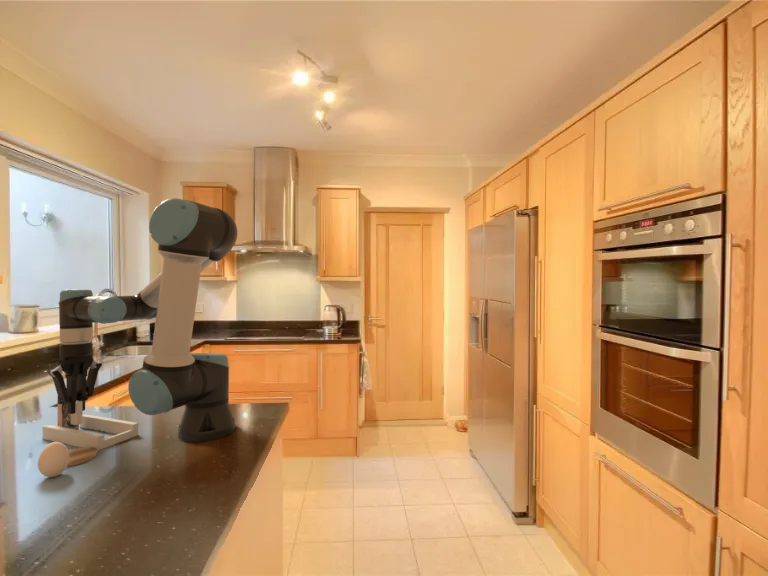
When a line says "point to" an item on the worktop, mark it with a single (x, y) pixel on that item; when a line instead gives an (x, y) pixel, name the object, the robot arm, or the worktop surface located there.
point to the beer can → (65, 416)
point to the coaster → (81, 455)
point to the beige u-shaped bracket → (89, 439)
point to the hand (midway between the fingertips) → (76, 423)
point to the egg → (53, 459)
